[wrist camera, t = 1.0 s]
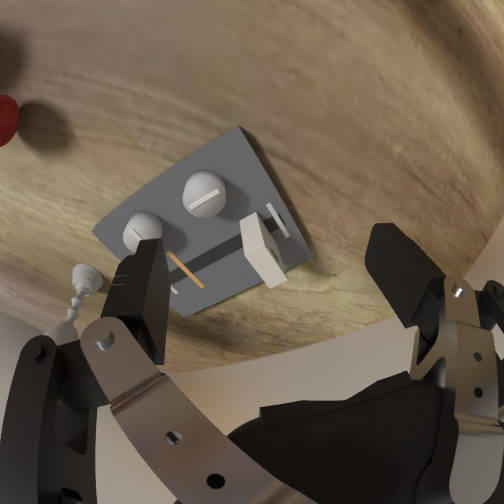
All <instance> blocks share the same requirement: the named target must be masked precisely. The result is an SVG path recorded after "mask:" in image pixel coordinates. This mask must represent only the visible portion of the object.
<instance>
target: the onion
mask: <svg viewBox="0 0 504 504" xmlns="http://www.w3.org/2000/svg"><path fill="white" fill-rule="evenodd" d="M19 115H20V113H19V107H18V105H17V103H16V101H15V100H14V99H13V98H11V97H10V96H8V95H0V147H2V146H4V145H5V144H7V143H8V142H9V141H10V140H11V138H12V137H13V136H14V134H15V132H16V130H17V127H18V124H19Z"/></svg>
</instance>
